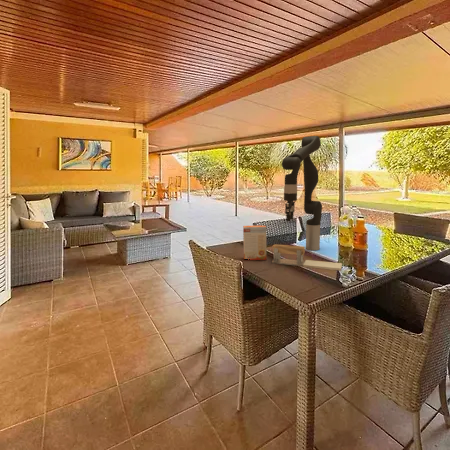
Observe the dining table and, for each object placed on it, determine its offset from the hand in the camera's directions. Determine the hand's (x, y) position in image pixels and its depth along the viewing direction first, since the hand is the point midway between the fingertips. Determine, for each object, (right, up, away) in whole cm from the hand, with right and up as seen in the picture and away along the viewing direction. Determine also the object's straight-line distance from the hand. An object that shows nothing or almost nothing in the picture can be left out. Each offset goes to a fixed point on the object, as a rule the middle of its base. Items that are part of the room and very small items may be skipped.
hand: (289, 220), depth 177 cm
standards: (-1, -25, +1) cm, 25 cm away
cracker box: (-20, -24, +11) cm, 33 cm away
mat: (+17, -26, -7) cm, 32 cm away
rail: (-1, -19, 0) cm, 19 cm away
